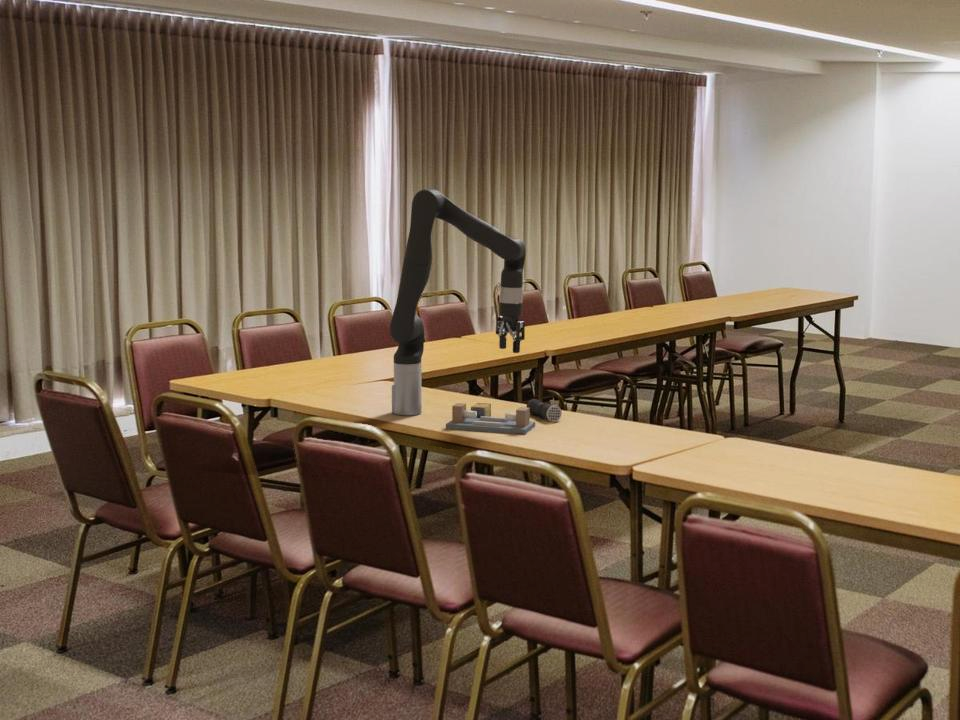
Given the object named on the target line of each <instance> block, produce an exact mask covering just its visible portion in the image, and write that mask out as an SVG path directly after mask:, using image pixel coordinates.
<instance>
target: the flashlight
mask: <svg viewBox="0 0 960 720" xmlns="http://www.w3.org/2000/svg"><path fill="white" fill-rule="evenodd" d="M525 407H528V408H530V415H533V416H540V417H541V418H542V419H545V420H546V421H549V422H551V421H554V422H558V421H559V420H560V419H561V417H562V409H561V407H560V406H559V405H556V404H554V403H553V404H552V403H544V402H542V401H541V400H539V399H536V398H532V399H530V400H529V401H528V402H527V403H526V406H525Z"/></svg>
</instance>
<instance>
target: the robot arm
mask: <svg viewBox="0 0 960 720" xmlns="http://www.w3.org/2000/svg"><path fill="white" fill-rule="evenodd" d="M435 219H439V220H442V221H443V222H446V223H448V224H450V225H451V226H453V227H455V228H456V229H457V230H459V231H460V233H462V234H464V235H465V236H466V237H468V238H469V239H470V240H472V241H474V242H475V243H477V244H478V245H481V246H482V247H484V248H487V249H488V250H490V251H491V252H492V253H494V254H495V255H496V256H497V257H499V258H501V259H503V260H504V262H503V263H504V264H503V268H502V271H501V274H500V290H499V297H498V298H499V301H498V302H499V304H498V308H499V309H498V314H499V315H498V316H496V321H495V335H497V336H498V337H499V342H498V345H499V348H498V349H501V350H505V349H507V335H508V334H509V336H511V337H512V340H513V341H512V353H514V354H519V353H520V352H521V342H522V341H524V340H525V334H526V333H525V331H526V327H525V326H526V325H525V324H526V323H525V321H524V320H523V321H521V320H520V319H519V318H520V317H522V315H523V305H524V304H523V303H524V302H523V301H524V289H523V285H524V283H523V280H524V279H523V277H524V275H523V274H524V268H525V262H526V254H527V253H526V252H527V251H526V249H527V248H526V245H525V243H524V242H523V240H521V239H519V238H517V237H516V238H511V237H509V236H507V235H505V234H504V233H502V232H501V231H500V230H499V229H498V228H497V227H495V226H493V225H491V224H490V223H488V222H486V221H484V220H482V219H481V218H478V217H477V216H475V215H473V214H472V213H469V212H468V211H466V210H464V209H463V208H461V207H460V206H458V205H457V204H456V203H454V202H453V201H451V200H450V199H449V198H448V197H447V196H445V195H444V194H443V193H442V192H441V191H439V190H437V189H435V188H424V189H421V190H418V192H416V193H415V194H414V196H413V199H412V201H411V212H410V223H409V224H410V225H409V233H408V237H407V242H406V247H405V252H404V257H403V262H402V266H401V267H402V268H401V275H400V281H399V286H398V292H397V298H396V302H395V306H394V310H393V314H392V316H391V319H390V320H391V321H390V324H389V335H390V336H391V339H392V340H393V341H394V342H395V343H396V344H398V346H397V349H396V351H395V352H394V354H393V384H392V385H391V414H392V413H394V415H397V416H398V415H399V416H416V415H420V414H422V400H423V399H422V357H423V355H424V349H425V347H424V346H425V344H424V343H425V327H424V323H423V320H422V318H421V317H420V316H419V315H417V314H416V311H417V306H418V303H419V301H420V298H421V297H422V295H423V292H424V291H425V289H426V286H427V284H428V281H429V278H430V275H431V269H432V261H433V248H432V232H433V226H434V222H435Z"/></svg>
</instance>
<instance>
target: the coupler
mask: <svg viewBox="0 0 960 720" xmlns="http://www.w3.org/2000/svg"><path fill="white" fill-rule="evenodd" d="M470 411H476V412H477V417H476V418H480V417H481V416H484V417H492V404H491V403H484V402H483V403H482V402H477V403H476V404H474V405H472V406H471V407H470Z"/></svg>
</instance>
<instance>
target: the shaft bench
mask: <svg viewBox="0 0 960 720" xmlns="http://www.w3.org/2000/svg"><path fill="white" fill-rule="evenodd" d="M451 407H452V408H451V411H452V412H451V415H452V417H451V418H452V419H451V420H449V421H448V422H447V423H445V429H446V428H451V429H450V430H458V429H461V430H462V431H473V432H474V431H475V432H489V433H490V432H491V433H501V432H506V433H505V434H515V433H523V434H522V435H527V434H528V433H529V432H530V431H531V430H533V429H534V428H535V427H536V421H530V418H531V417H530V415H531V414H530V408H528V407H526V406H525V407H524V406H520V407H519V408H516V411H515V413H511V412H506V413H505V414H504V417H500V416H499V417H495V416H491V417H484V416H481V417H480V418H476V417H477V412H476V411H471V410H467V403H462V402H457V403H455V404H453V405H452V406H451ZM532 428H533V429H532ZM528 431H529V432H528ZM527 432H528V433H527Z"/></svg>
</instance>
